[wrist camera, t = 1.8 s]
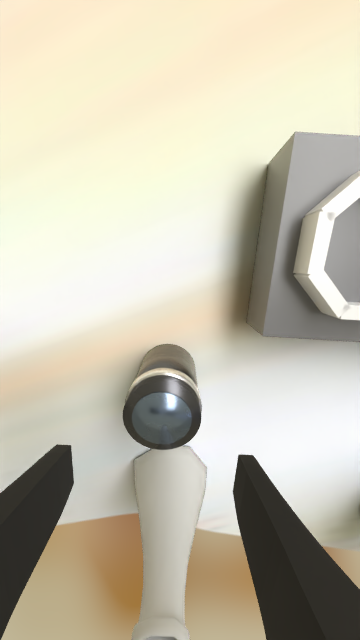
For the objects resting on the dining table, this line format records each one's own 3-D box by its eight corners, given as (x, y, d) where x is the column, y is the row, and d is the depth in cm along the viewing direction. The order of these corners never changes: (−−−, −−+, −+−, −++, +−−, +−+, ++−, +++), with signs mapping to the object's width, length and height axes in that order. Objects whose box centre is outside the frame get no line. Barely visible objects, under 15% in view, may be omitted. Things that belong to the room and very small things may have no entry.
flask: (147, 507, 22) (119, 698, 12) (122, 451, 20) (68, 621, 11) (216, 492, 21) (243, 680, 12) (196, 434, 20) (210, 596, 10)
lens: (198, 344, 18) (206, 384, 12) (193, 395, 19) (199, 455, 13) (140, 341, 18) (120, 379, 12) (140, 392, 19) (120, 451, 13)
